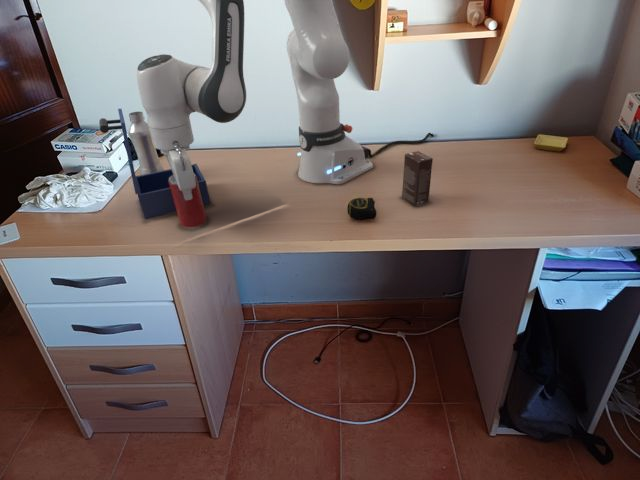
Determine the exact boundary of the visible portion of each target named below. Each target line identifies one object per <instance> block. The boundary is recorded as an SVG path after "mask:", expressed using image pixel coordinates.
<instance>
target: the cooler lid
mask: <svg viewBox="0 0 640 480" xmlns="http://www.w3.org/2000/svg"><path fill="white" fill-rule="evenodd" d="M117 111H118V112H117V113H118V116H119V117H118V118H119V119H108V120H107V119H106V118H104V117H102V118H100V119H99V122H98V123H99V131H100V132H101V133H103V134H107V133H108V132H109V131H113V130H115V131H116V130H122V135H123V140H124V146H125V151H126V155H127V160H128V165H129V170H130V175H131V179H132V184H133V189H134V193H135V195H138V194H139V191H138V186H137V181H136V176H137V175H136V172H135V167H134V162H133V157H132V152H131V147H130V141H129V137H128V136H129V135H128V132H127V131H128V130H127V126H126V122H125V118H124V113H123V109H122V108H117ZM111 124H112V125H111ZM113 124H118V125H113ZM119 124H120V125H119Z"/></svg>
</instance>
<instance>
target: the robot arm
mask: <svg viewBox="0 0 640 480" xmlns="http://www.w3.org/2000/svg"><path fill="white" fill-rule="evenodd" d="M197 1H198V2H199V3H200V4H201V5H202V6H203V7H204V8H205V9H206V11H207V12H208V15H209V18H210V20H211V25H212V26H211V27H212V39H211V41H212V44H211V45H212V46H211V66H210V68H209V67H206V66H201V65H196V64H192V63H189V62H184V61H182V60H180V59H177V58H176V57H174V56H173V55H171V54H163V53H162V54H159V55H153V56H150V57H147V58H145V59H143V60H142V61H141V62H140V63H139V64H138V65H137V68H136V79H137V86H138V91H139V96H140V100H141V104H142V107H143V109H144V111H145V112H146V115H147V124H148V127H149V131H150V135H151V139H152V143H153V146H154V147H155V148H156V150H159V151H160V153H161V154H163V155H164V157H165V158H166V161H167V163H168V165H169V167H170V168H169V169H171V170H172V172H173V175H174V177H175V180H176V182H177V185H178V187H179V189H180V190H181V191H182V192H183V196H184V199H185V200H191V199H192V198H193V197H192V192H191V189H193V188H195V187H196V181H195V177H194V173H193V169H192V161H191V158H190V156H189V153H188V151H189V150H190V149H191V145H192V144H193V143H194V142H195V138H194V133H193V132H194V131H193V128H192V123H191V119H190V115H191V114H193V113H199V114H201V115H202V116H203V115H204V116H205V117H207V118H209V119H210V120H212V121H214V122H216V123H220V124H226V123H230V122H232V121H234V120H236V119H237V118H238V117H239V116H240V115H241V114H242V112H243V110H244V109H245V106H246V103H247V88H246V87H247V86H246V83H245V77H244V49H245V48H244V47H245V46H244V45H245V2H244V0H197ZM283 1H284V5H285V7H286V10H287V12H288V14H289V17H290V20H291V23H292V26H293V29H292V31H290V32H289V34H288V35H287V39H286V43H285V48H286V53H287V55H288V58H289V64H290V69H291V75H292V79H293V84H294V88H295V92H296V98H297V106H298V107H297V108H298V118H299V119H298V120H299V127H298V140H299V141H298V142H299V146H300V152H297V156H299V157H300V161H299V167H298V171H297V176H298V177H299V179H301V180H302V181H304V182H307V183H311V184H333V185H342V184H344V183H346V182H348V181H350V180H352V179H354V178H356V177H357V176H360V175H362V174H364V173H366V172H368V171H370V170H372V169H373V168H374V164H373V162H372V161H371V160H370V159H369V158H373V157H375V156H377V155H379V154H380V153H381V152H383V150H385V149H387V148H389V147H390V146H392V145H396V144H397V145H398V144H408V145H409V144H410V145H411V144H412V145H413V144H414V145H415V144H416V145H417V144H422V143H424V142H425V141H427V140H428V138H429V137H435V135H434V134H433V133H432V132H428V133H427V134H426V135H425V137H423V138H422V139H419V140H394V141H391V142H388V143H386V144H385V145H383V146H382V147H380V148H379V149H377V150H376V151H375V152H374V153H373V154H372V150H371V149H370V148H368V147H366V146H363V145H362V144H360V143H358V142H357V141H356V140H353V139H352V138H350V137H349V136H347V135H346V133H348V134H351V133H352V131H353V126H352V125H349V124H347V123H346V124H344V123H341V119H340V118H341V115H340V111H341V110H340V95H339V92H338V90H337V86H336V83H335V80H334V79H337V78H339V77H341V76H342V75H343V74H344V73H345V72H346V71H347V69H348V67H349V64H350V59H351V54H350V49H349V46H348V45H347V43H346V41H345V39H344V36H343V33H342V29H341V26H340V22H339V19H338V15H337V12H336V9H335V6H334V1H333V0H283ZM345 132H346V133H345ZM431 133H432V134H431Z"/></svg>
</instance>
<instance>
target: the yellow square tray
mask: <svg viewBox="0 0 640 480" xmlns="http://www.w3.org/2000/svg"><path fill="white" fill-rule="evenodd" d="M568 140H569V138H568V137H566V136H557V135H548V134H541V133H540V134H537V136H536V139H535V140H534V143H533V144H534V147H535V148H537V149H538V150H543V151H551V152H561V151H563V150H564V149H566V146H567V143H568Z"/></svg>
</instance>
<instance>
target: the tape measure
mask: <svg viewBox="0 0 640 480" xmlns="http://www.w3.org/2000/svg"><path fill="white" fill-rule="evenodd" d="M375 204H376V200H374V198H373V197H367V198H365V197H356V198H353V199H351V200H350V201H349V202H348V203H347V209H346V210H347V211H346V212H347V214H348V216H349V217H350V218H351V219H352V220H355V221H358V222H363V221H370V220H375V219H376V218H377V209H376V207H375V206H376V205H375Z"/></svg>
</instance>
